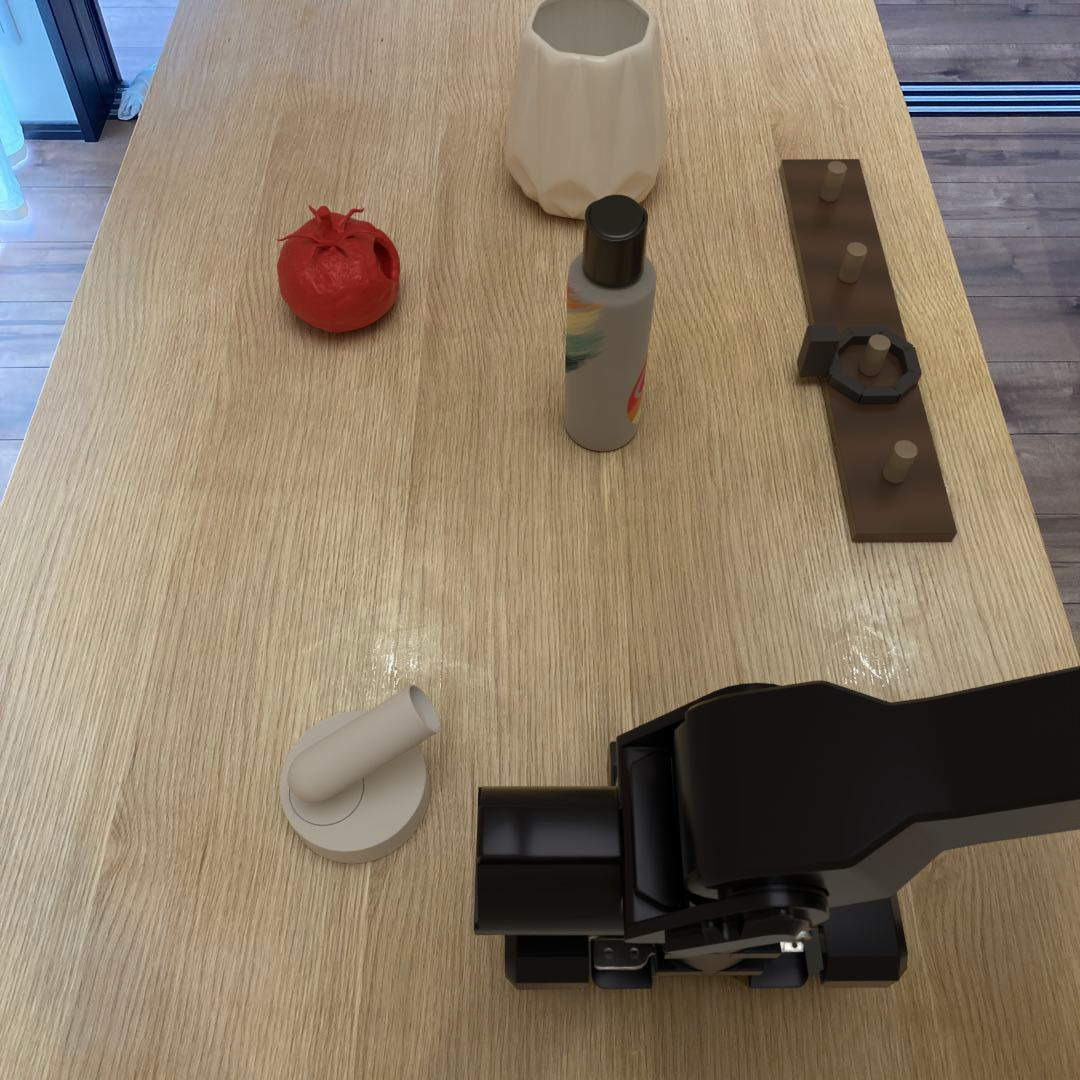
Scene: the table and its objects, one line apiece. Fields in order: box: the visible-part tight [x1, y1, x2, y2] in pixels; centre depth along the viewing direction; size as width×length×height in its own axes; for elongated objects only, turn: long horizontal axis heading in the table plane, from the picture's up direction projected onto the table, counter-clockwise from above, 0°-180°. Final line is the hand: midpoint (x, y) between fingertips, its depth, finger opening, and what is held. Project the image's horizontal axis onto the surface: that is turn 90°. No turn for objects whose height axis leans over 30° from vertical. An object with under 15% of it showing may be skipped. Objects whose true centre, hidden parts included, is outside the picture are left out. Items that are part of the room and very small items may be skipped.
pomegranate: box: [275, 204, 401, 334], centre depth 81 cm, size 10×10×9 cm
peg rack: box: [779, 158, 958, 543], centre depth 81 cm, size 40×7×4 cm, turn 0°
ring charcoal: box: [796, 324, 923, 404], centre depth 78 cm, size 9×7×4 cm
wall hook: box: [279, 683, 442, 865], centre depth 59 cm, size 9×10×10 cm
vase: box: [504, 0, 670, 221], centre depth 87 cm, size 14×14×15 cm
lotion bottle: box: [563, 195, 657, 452], centre depth 70 cm, size 6×6×20 cm
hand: (680, 950), depth 57 cm, fingers open, 3 cm apart
